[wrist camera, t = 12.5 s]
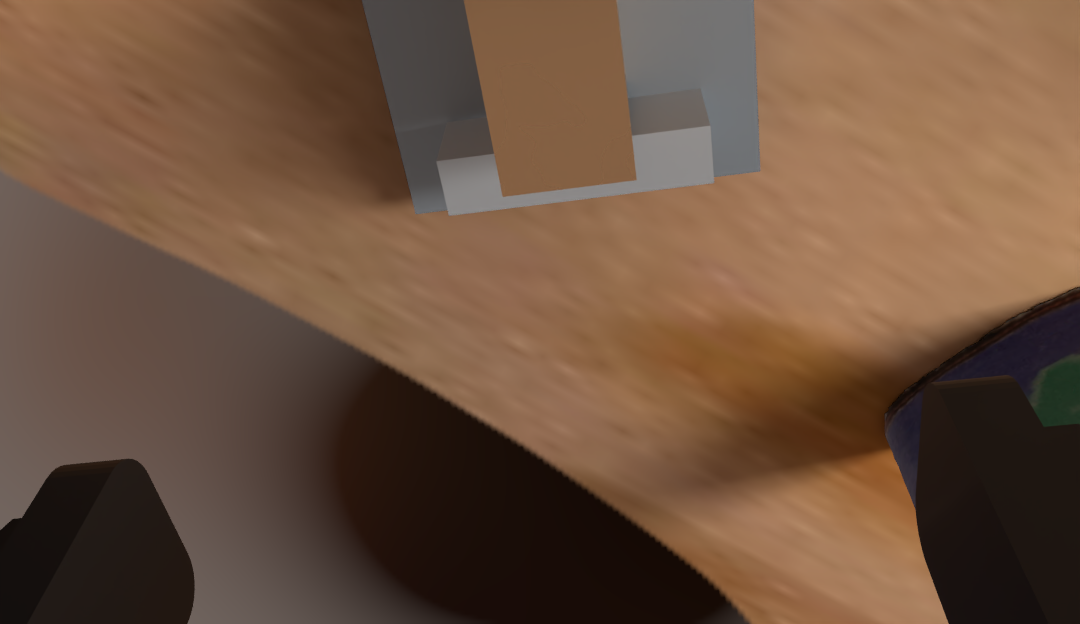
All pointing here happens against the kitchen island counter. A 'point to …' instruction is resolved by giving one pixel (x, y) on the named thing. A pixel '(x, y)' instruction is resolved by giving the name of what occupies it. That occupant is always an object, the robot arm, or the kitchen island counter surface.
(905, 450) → the flask
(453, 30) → the grey ridged tray
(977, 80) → the kitchen island counter surface
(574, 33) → the brown wooden block
